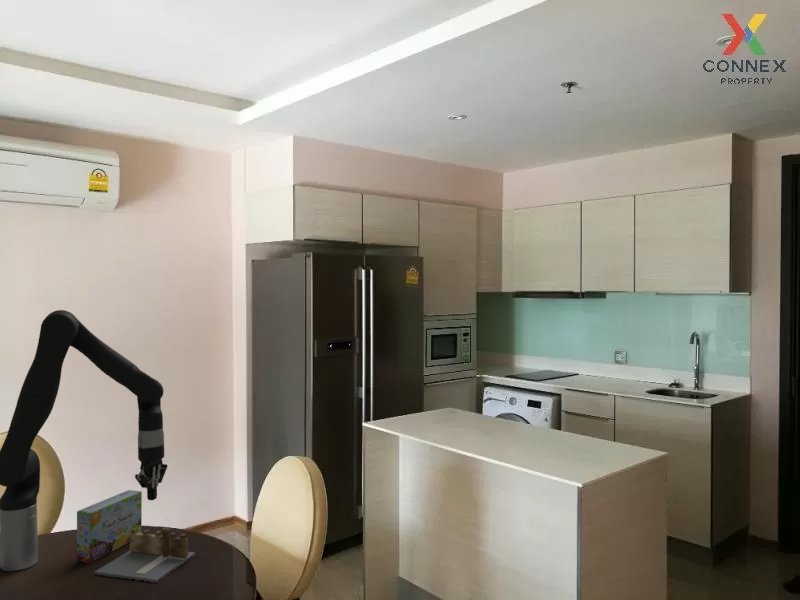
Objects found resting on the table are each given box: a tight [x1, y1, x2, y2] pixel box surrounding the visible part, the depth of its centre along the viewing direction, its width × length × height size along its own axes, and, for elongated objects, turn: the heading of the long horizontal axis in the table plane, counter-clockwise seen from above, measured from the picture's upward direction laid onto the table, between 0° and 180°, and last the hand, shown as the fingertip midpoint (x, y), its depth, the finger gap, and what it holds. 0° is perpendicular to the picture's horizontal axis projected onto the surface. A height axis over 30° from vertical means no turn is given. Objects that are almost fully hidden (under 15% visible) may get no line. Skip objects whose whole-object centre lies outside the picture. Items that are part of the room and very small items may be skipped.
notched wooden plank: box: [160, 527, 190, 558], centre depth 183 cm, size 8×3×9 cm, turn 75°
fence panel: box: [129, 528, 163, 555], centre depth 185 cm, size 11×2×6 cm, turn 75°
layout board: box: [94, 550, 196, 583], centre depth 180 cm, size 20×18×1 cm
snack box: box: [76, 489, 143, 564], centre depth 191 cm, size 21×6×15 cm, turn 162°
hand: (152, 499), depth 192 cm, fingers closed
